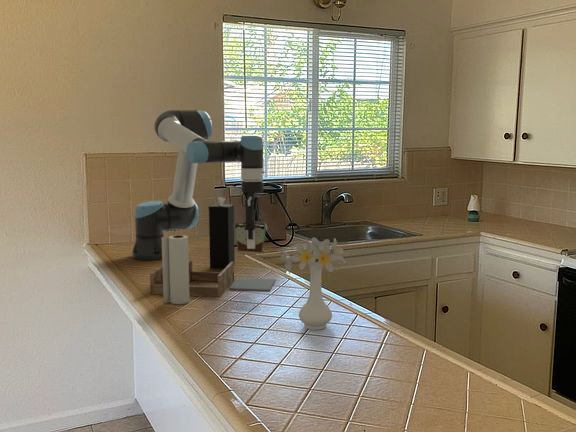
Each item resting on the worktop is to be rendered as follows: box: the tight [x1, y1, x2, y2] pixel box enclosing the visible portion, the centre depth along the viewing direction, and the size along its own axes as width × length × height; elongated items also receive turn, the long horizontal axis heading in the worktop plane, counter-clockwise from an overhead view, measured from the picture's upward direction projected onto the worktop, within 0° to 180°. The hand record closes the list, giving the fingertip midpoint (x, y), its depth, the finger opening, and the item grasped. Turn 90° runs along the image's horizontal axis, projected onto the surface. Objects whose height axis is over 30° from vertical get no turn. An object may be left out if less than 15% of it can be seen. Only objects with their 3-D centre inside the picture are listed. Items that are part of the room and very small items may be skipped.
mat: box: [228, 277, 277, 292], centre depth 214 cm, size 14×14×1 cm
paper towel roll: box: [161, 234, 190, 305], centre depth 193 cm, size 7×6×21 cm
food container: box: [233, 220, 269, 254], centre depth 212 cm, size 12×6×10 cm, turn 71°
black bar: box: [208, 196, 236, 270], centre depth 239 cm, size 8×8×28 cm
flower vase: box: [279, 236, 347, 331], centre depth 168 cm, size 13×18×25 cm
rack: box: [149, 259, 235, 297], centre depth 212 cm, size 21×24×7 cm
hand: (253, 246), depth 212 cm, fingers closed on food container, 7 cm apart
